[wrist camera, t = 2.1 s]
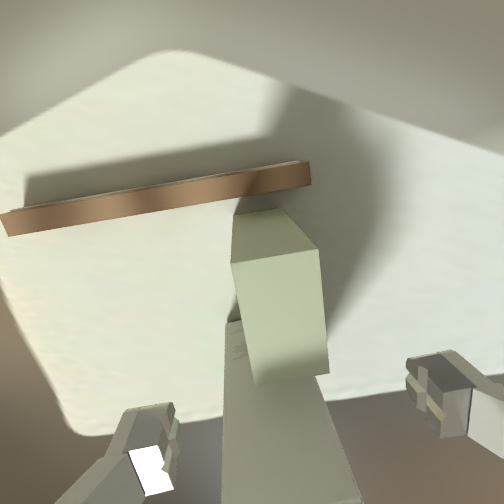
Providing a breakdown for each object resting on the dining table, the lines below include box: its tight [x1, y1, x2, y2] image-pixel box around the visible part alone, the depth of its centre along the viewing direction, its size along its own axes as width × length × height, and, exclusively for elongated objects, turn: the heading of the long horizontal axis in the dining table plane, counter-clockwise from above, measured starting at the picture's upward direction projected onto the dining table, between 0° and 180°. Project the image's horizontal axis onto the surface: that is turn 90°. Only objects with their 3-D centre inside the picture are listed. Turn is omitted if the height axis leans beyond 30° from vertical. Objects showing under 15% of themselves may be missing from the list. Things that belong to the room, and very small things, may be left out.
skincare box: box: [221, 320, 364, 504], centre depth 20 cm, size 8×7×16 cm
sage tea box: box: [230, 207, 330, 386], centre depth 19 cm, size 7×4×11 cm, turn 9°
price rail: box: [0, 161, 311, 237], centre depth 21 cm, size 22×2×2 cm, turn 99°
